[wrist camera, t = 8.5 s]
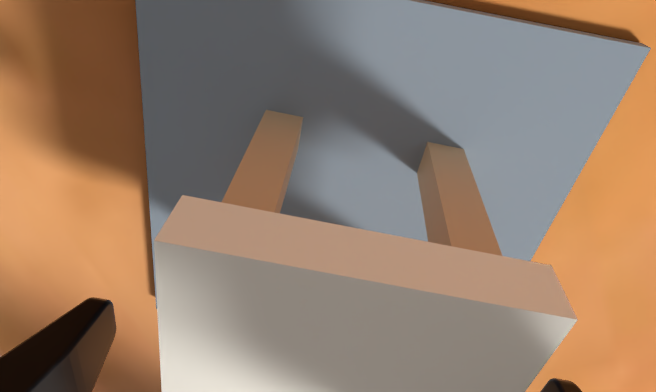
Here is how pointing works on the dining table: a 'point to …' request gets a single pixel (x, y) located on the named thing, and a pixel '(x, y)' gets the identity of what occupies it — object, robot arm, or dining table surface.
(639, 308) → the dining table surface
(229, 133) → the mat
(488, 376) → the stool
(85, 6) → the dining table surface
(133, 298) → the dining table surface
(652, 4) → the dining table surface
